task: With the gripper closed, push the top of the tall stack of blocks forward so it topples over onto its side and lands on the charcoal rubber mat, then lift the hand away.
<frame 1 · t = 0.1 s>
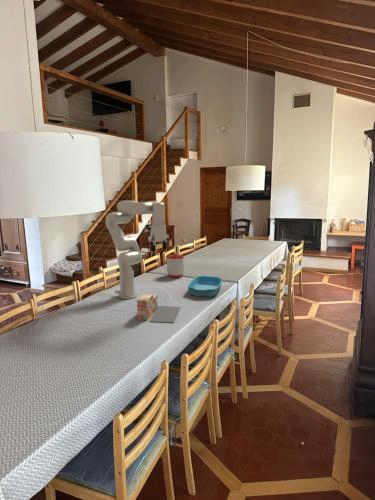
hand: (159, 250, 225), 37 cm above the table, tool pointing down, fingers open, 9 cm apart
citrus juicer: (174, 276, 308), on the table
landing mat: (165, 314, 219), on the table
stack of blocks: (148, 314, 221), on the table
casserole dish: (205, 291, 267), on the table
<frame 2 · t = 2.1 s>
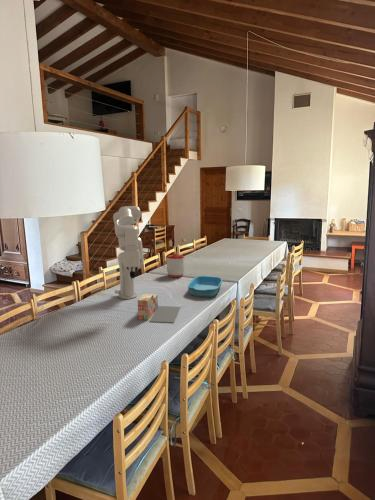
hand: (132, 277, 217), 22 cm above the table, tool pointing down, fingers closed
nothing on the table moved.
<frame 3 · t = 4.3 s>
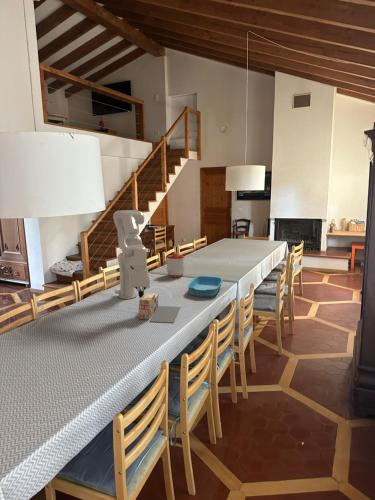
hand: (141, 297, 219), 10 cm above the table, tool pointing down, fingers closed
stack of blocks: (148, 313, 221), on the table, touching gripper
everything else where it was.
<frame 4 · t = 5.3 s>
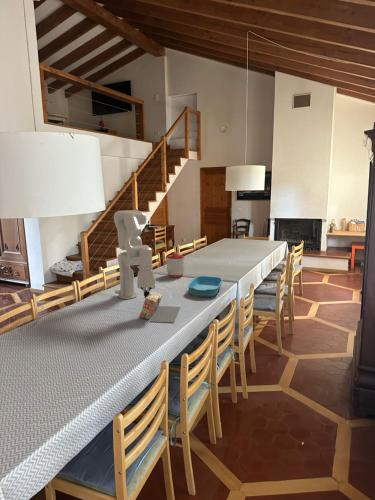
hand: (146, 297, 219), 10 cm above the table, tool pointing down, fingers closed
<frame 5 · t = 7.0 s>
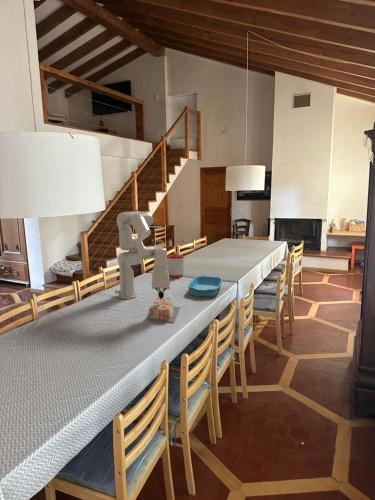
hand: (161, 298, 218), 10 cm above the table, tool pointing down, fingers closed
stack of blocks: (152, 307, 220), point 4 cm above the table, touching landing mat
everything else where it was.
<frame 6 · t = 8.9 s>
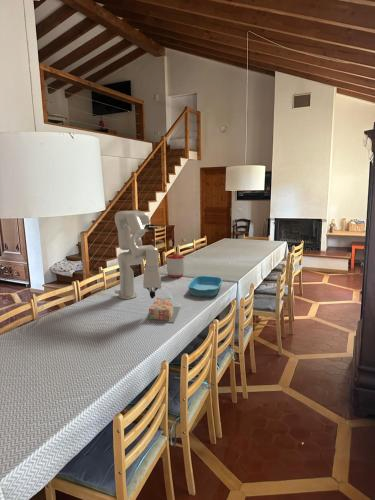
hand: (152, 297, 218), 10 cm above the table, tool pointing down, fingers closed
nothing on the table moved.
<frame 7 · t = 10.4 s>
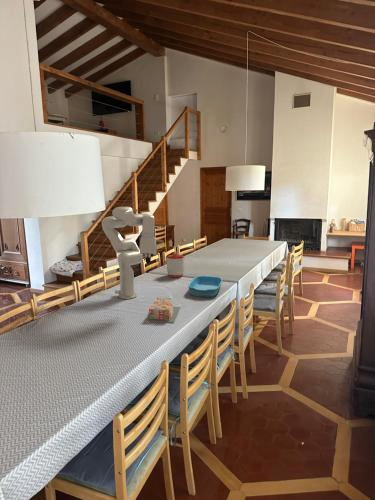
hand: (148, 263, 230), 28 cm above the table, tool pointing down, fingers closed
nothing on the table moved.
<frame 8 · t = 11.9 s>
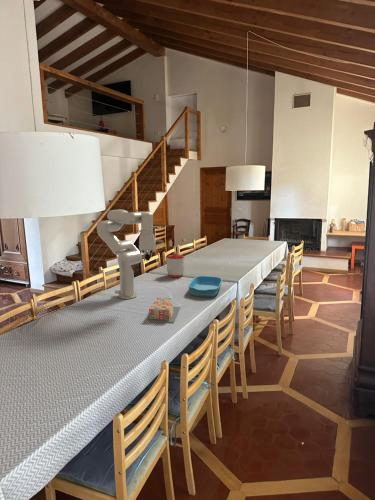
hand: (147, 260, 234), 29 cm above the table, tool pointing down, fingers closed
nothing on the table moved.
at the end: stack of blocks tilted 90°; stack of blocks touching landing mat; stack of blocks moved 4.6 cm from its start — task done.
